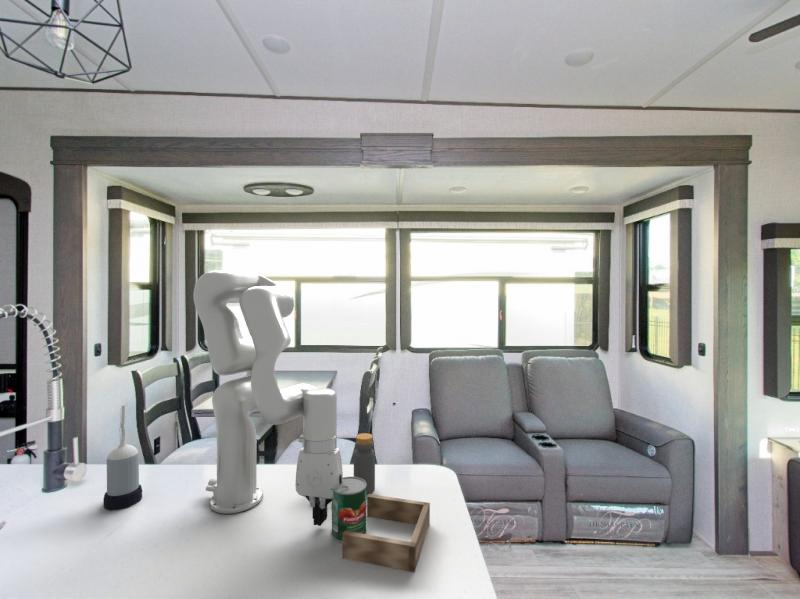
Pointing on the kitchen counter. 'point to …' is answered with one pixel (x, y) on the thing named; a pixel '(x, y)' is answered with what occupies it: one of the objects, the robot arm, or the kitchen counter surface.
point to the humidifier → (122, 474)
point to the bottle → (365, 461)
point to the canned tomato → (349, 507)
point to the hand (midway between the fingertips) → (319, 522)
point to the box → (386, 548)
